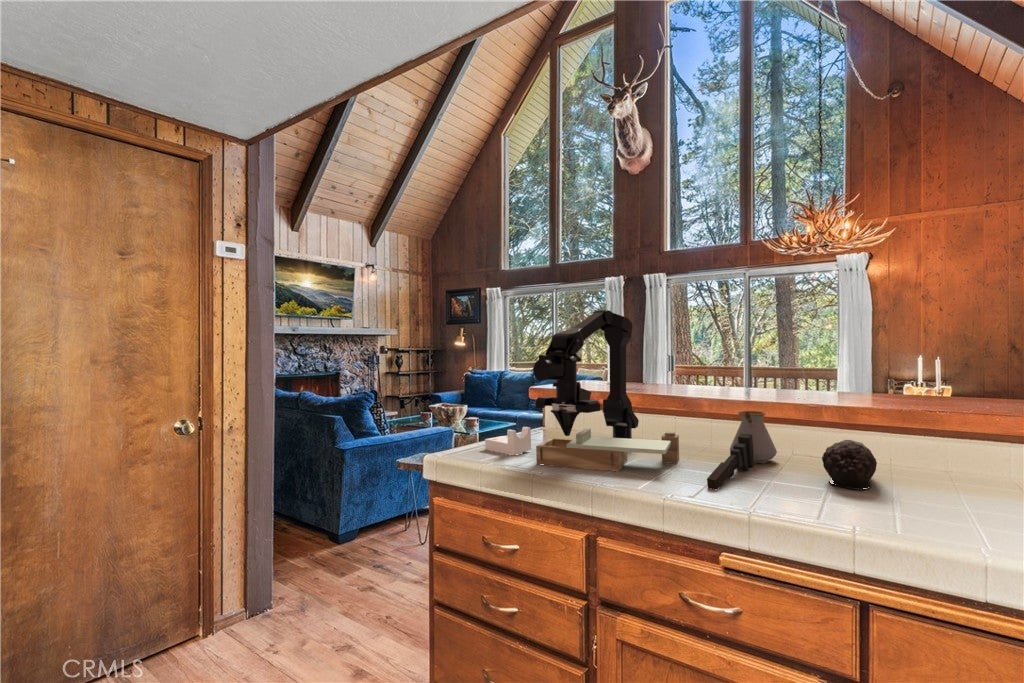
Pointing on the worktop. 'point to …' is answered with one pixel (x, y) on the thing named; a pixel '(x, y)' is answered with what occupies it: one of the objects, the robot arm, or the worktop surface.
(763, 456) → the coffee pot
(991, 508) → the worktop surface
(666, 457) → the brown stepped square block
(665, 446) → the lid
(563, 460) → the brown box
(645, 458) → the worktop surface
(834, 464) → the pine cone
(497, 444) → the bracket
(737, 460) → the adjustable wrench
